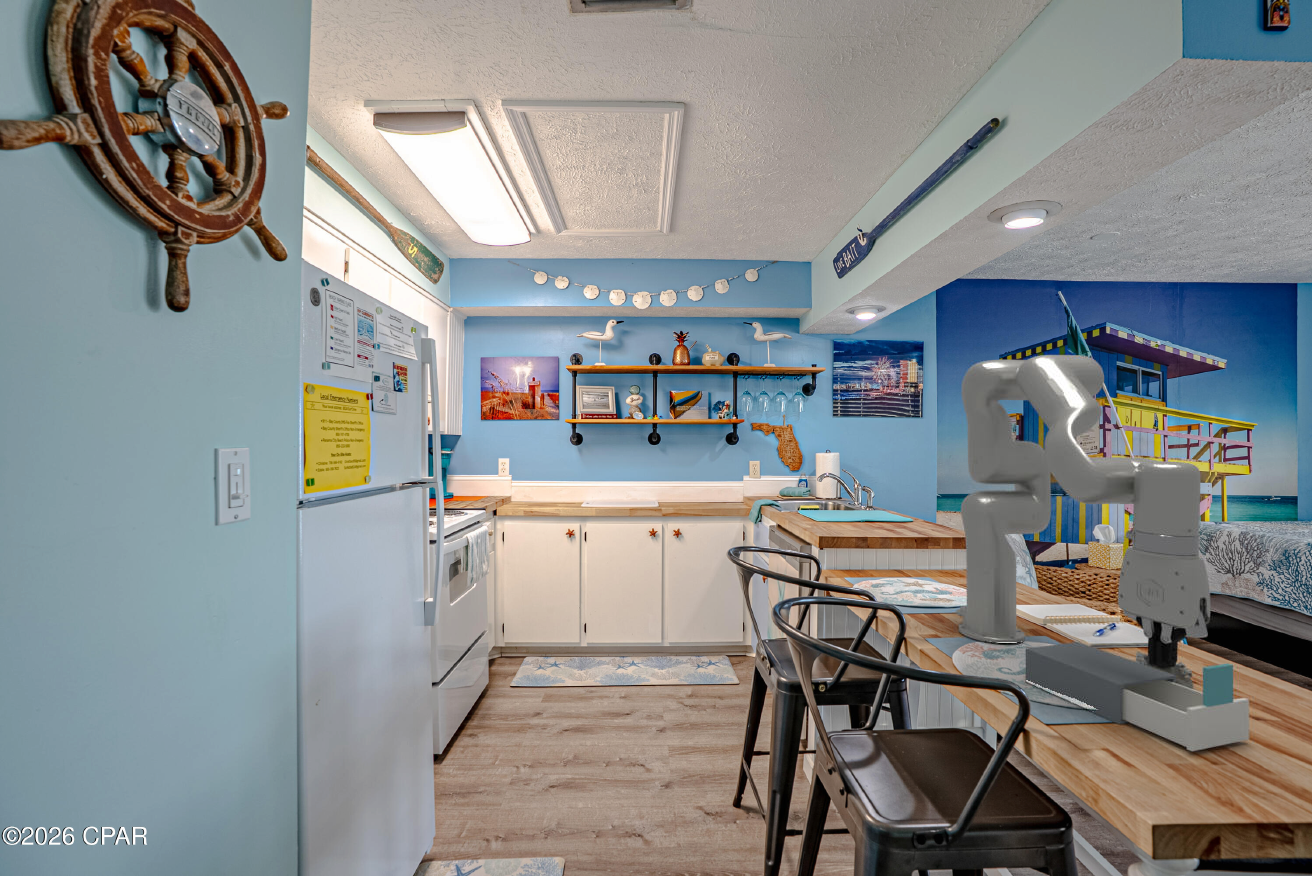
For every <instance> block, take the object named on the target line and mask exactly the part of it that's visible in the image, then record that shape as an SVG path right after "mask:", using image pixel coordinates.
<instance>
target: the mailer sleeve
mask: <svg viewBox="0 0 1312 876" xmlns="http://www.w3.org/2000/svg"><path fill="white" fill-rule="evenodd" d="M1176 677H1177V676H1176V675H1173V674H1170V673H1167V672H1164V671H1161V670H1158V669H1155V668H1153V667H1150V666H1147V665H1144V664H1141V663H1138V662H1136V660H1135V661H1134V660H1132V659H1129V658H1126V657H1123V656H1120V655H1117V654H1115V653H1114V654H1113V653H1111V652H1108V651H1105V650H1102V649H1099V648H1096V647H1093V646H1092V645H1088V644H1084V643H1082V642H1078V641H1073V642H1066V643H1060V644H1059V643H1058V644H1050V645H1042V646H1036V647H1035V646H1034V647H1026V648H1025V681H1026V680H1028V681H1031V682H1033V683H1035V684H1038V685H1040V686H1042V687H1044V688H1048V689H1050V690H1052V691H1055V692H1057V693H1060V694H1062V695H1066V696H1068V697H1071V698H1075V699H1077V700H1079V701H1081V702H1084V703H1086V704H1087V705H1090V706H1093V707H1094V708H1096V709H1098V710H1096V711H1094V713H1093V714H1095V713H1096V714H1095V715H1097V714H1098V716H1099V715H1100V717H1102V716H1103V717H1102V718H1104V717H1105V718H1104V719H1106V718H1107V719H1106V720H1108V719H1109V720H1108V721H1111V722H1113V723H1115V724H1117V725H1124V724H1129V723H1130V722H1128V721H1126V720H1123V719H1122V687H1123V686H1129V685H1136V684H1142V683H1148V682H1155V681H1161V680H1168V681H1171V682H1174V683H1176ZM1130 724H1131V723H1130Z"/></svg>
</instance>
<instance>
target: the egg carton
mask: <svg viewBox="0 0 1312 876" xmlns="http://www.w3.org/2000/svg"><path fill="white" fill-rule="evenodd" d="M1135 662H1138V663H1141V664H1144V665H1147V666H1150V667H1153V668H1155V669H1158V670H1161V671H1164V672H1167V673H1170V674H1173V675H1176V684H1179V685H1182V686H1185V687H1188V688H1191V689H1194V683H1193V680H1191V678H1193V671H1192V670H1191V669H1190V668H1187V667H1186V665H1185V664H1184V663H1183V662H1182V661H1181V662H1178V663H1176V665H1175V667H1170V668H1164V669H1161V668H1158V667H1157V666H1153V665H1150V664H1149V656H1148V654H1145V653H1142V652H1141V651H1136V653H1135Z"/></svg>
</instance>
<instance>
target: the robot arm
mask: <svg viewBox="0 0 1312 876" xmlns="http://www.w3.org/2000/svg"><path fill="white" fill-rule="evenodd" d="M1104 382H1105V375H1104V371H1103V368H1102V366H1101V365H1100V364H1099V362H1097V361H1096V360H1095V359H1093V358H1092V357H1090V356H1087V355H1080V354H1079V355H1077V354H1073V355H1072V354H1045V355H1043V354H1042V355H1037V356H1033V357H1031V358H1027V359H991V360H984V361H979V362H977V363H975V364H973V365H971V366H970V367H969V368H968V369H967V371H966V372H965V375H963V378H962V383H961V400H962V404H963V408H964V412H965V417H966V420H967V421H966V422H967V464H968V465H967V466H968V472H969V473H968V474H969V475H970V478H971V479H972V480H973V481H974V482H976V483H979V484H984V485H1014V490H1005V489H1004V490H1003V489H1002V490H999V489H997V490H996V489H995V490H980V491H974V492H972V493H969V494H968V495H967V496H965V497H964V498H963V501H962V503H961V506H960V514H961V520H962V524H963V530H964V537H965V553H966V555H965V557H966V558H965V559H966V606H965V605H962V606H960V607H959V609H956V610H955V614H956V615H957V616H959V617H962V621H963V622H962V623H960V624H958V632H959V633H961V634H962V635H964V636H965V637H967V638H970V639H974V640H977V641H980V642H984V641H987V642H986V643H990V641H991V642H1021V641H1023V642H1025V640H1026V634H1025V632H1024V631H1022V630H1021V629H1019V628H1017V557H1016V554H1015V551H1014V548H1013V547H1012V545H1011V543H1010V542H1009V541H1008V539H1007V537H1006V536H1007V535H1030V534H1034V535H1035V534H1038V533H1041V532H1043V531H1045V530H1046V528H1047V527H1048V525H1049V524H1050V521H1051V517H1052V516H1051V514H1052V513H1051V512H1052V498H1051V497H1052V495H1051V493H1052V492H1051V489H1052V488H1051V483H1052V481H1051V474H1052V476H1053V477H1054V479H1055V480H1056V481H1057V483H1058V484H1059V485H1060V487H1061V488H1062V490H1063V491H1064V492H1065V493H1066V494H1067V495H1068V496H1069V497H1070V498H1072V499H1073V500H1075V501H1077V502H1080V503H1082V504H1088V505H1109V504H1112V505H1113V504H1119V505H1133V510H1132V511H1133V515H1132V530H1127V531H1126V533H1125V538H1126V539H1128V540H1131V545H1132V547H1128V548H1127V549H1126V550H1125V554H1124V556H1123V560H1122V564H1121V568H1120V573H1119V580H1118V589H1117V591H1118V592H1117V604H1118V607H1119V608H1120V609H1121V610H1122V611H1123V612H1122V613H1123V615H1124V616H1125V617H1127V618H1129V619H1130V620H1132V621H1134V622H1136V623H1137V624H1138V625H1139V627H1140V629H1142V632H1143V635H1144V636H1145V637H1146V638H1148V639H1147V655H1148V656H1149V664H1150V665H1153V666H1157V667H1158V668H1161V669H1164V668H1170V667H1175V665H1176V664H1177V663H1178V646H1179V645H1178V643H1179V642H1182V641H1183V640H1184V639H1186V638H1195V639H1196V638H1197V639H1200V638H1202V639H1203V638H1207V637H1208V629H1207V625H1208V624H1209V623H1210V618H1211V592H1210V582H1209V577H1208V572H1207V567H1206V564H1205V560H1204V558H1202V557H1199V556H1200V553H1199V552H1200V521H1201V520H1200V514H1201V509H1200V508H1201V471H1200V470H1199V468H1198V466H1197V465H1195V464H1192V463H1189V462H1181V461H1158V460H1154V459H1150V458H1144V457H1123V456H1122V457H1120V456H1119V457H1117V456H1112V457H1111V456H1110V457H1109V456H1108V457H1107V456H1106V457H1103V456H1101V457H1097V456H1096V457H1093V456H1092V457H1091V456H1089V455H1088V454H1087V453H1086V452H1085V450H1084V449H1083V448H1082V446H1081V445H1080V444H1079V442H1078V441H1077V439H1076V438H1077V437H1079V436H1081V435H1083V434H1084V433H1086V432H1088V431H1089V430H1091V429H1092V428H1093V427H1095V425H1096V424H1097V423H1098V422H1099V421H1100V419H1101V417H1102V413H1103V412H1102V407H1101V405H1100V403H1099V402H1098V401H1097V400H1096V399H1095V397H1094V396H1096V395H1098V393H1099V392H1100V391H1101V389H1102V388H1103V386H1104ZM999 401H1028V402H1029V403H1030V405H1031V406H1032V407H1033V409H1034V410H1035V411H1036V412H1037V414H1038V415H1039V417H1040V418H1041V420H1042V421H1043V422H1044V424H1045V425H1046V426H1047V428H1048V431H1047V433H1046V436H1045V439H1044V448H1042V446H1041V445H1040V444H1038V443H1035V442H1033V441H1026V440H1015V441H1014V440H1013V432H1012V431H1013V430H1012V427H1013V425H1012V420H1011V417H1010V415H1009V413H1008V411H1007V410H1006V408H1005V407H1004V406H1003V405H1002V404H1001V403H1000V402H999ZM1021 643H1022V642H1021Z"/></svg>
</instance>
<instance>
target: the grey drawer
mask: <svg viewBox="0 0 1312 876" xmlns="http://www.w3.org/2000/svg"><path fill="white" fill-rule="evenodd" d="M1122 719H1123V720H1126V721H1128V722H1130V724H1132V725H1135V726H1137V727H1139V728H1142V729H1144V730H1147V731H1149V732H1150V733H1151V732H1152V733H1154V734H1156V735H1158V736H1161V737H1163V738H1165V739H1167V740H1169V741H1172V742H1174V743H1176V744H1178V745H1181V746H1183V747H1186V750H1188V751H1190V752H1196V751H1200V750H1205V749H1210V748H1214V747H1219V746H1224V745H1230V744H1234V743H1238V742H1243V741H1248V740H1250V700H1249V698H1245V697H1240V698H1234V665H1233V664H1230V663H1222V664H1217V665H1216V664H1215V665H1209V666H1204V667H1202V691H1199V690H1196V689H1194V688H1193V689H1191V688H1188V687H1185V686H1182V685H1179V684H1176V683H1174V682H1171V681H1168V680H1161V681H1155V682H1148V683H1142V684H1136V685H1129V686H1123V687H1122Z"/></svg>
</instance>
